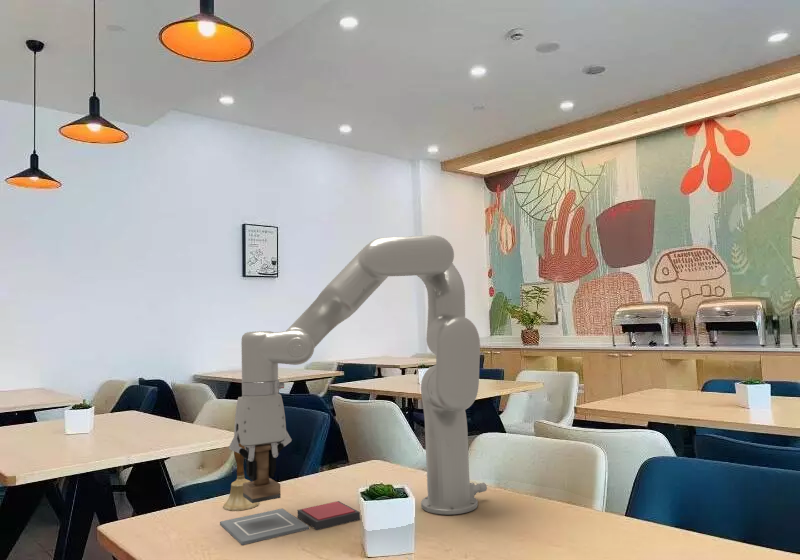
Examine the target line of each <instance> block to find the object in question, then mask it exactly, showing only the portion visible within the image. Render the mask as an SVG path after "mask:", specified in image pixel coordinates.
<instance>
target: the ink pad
mask: <svg viewBox="0 0 800 560" xmlns="http://www.w3.org/2000/svg"><path fill="white" fill-rule="evenodd" d="M296 513H297V518H298V519H299V520H301V521H302V522H304V523H305V524H307V525H308V526H309V527H312V528H313V529H315V530H316V531H318V530H322V529H327V528H331V527H335V526H339V525H343V524H348V523H352V522H356V521H360V520H361V514H360V513H361V512H360V511H359V510H357V509H355V508H353V507H351V506H349V505H347V504H345V503H343V502H341V501H339V500H338V501H333V502H328V503H324V504H319V505H314V506H310V507H305V508H301V509H297V512H296Z"/></svg>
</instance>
